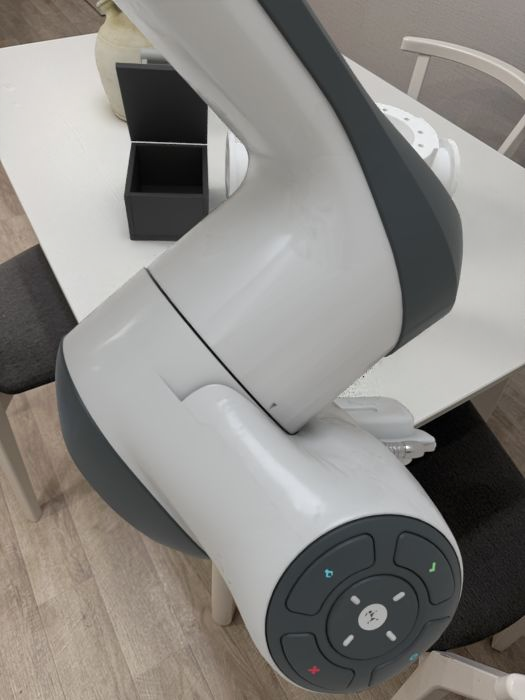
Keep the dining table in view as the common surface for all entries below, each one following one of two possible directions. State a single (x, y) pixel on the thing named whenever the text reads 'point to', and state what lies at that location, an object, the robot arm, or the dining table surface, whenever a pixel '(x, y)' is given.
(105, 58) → the jug
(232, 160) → the housing
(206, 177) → the box
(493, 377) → the dining table surface
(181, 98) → the chamber lid
